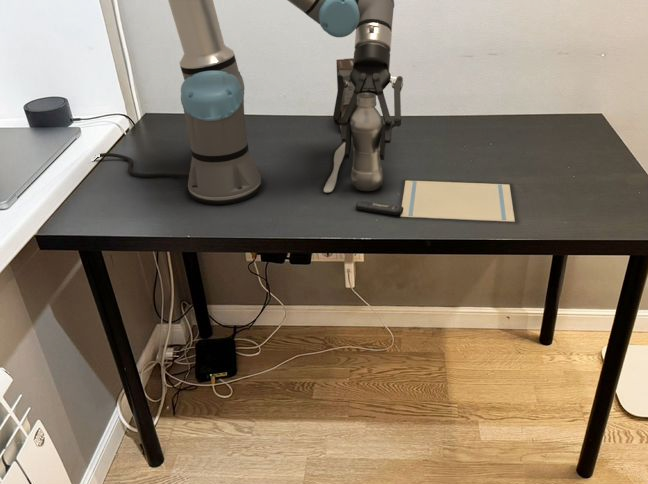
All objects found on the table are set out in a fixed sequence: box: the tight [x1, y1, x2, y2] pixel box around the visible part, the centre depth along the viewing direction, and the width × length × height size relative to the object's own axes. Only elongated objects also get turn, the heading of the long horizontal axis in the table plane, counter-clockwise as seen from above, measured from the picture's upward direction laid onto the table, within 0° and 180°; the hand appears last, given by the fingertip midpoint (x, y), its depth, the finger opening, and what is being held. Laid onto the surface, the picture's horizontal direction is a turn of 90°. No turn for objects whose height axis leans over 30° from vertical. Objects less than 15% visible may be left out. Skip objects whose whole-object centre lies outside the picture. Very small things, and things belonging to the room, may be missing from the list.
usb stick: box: [355, 199, 403, 216], centre depth 128 cm, size 10×3×2 cm, turn 69°
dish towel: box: [399, 180, 516, 223], centre depth 132 cm, size 22×16×1 cm
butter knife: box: [323, 142, 345, 194], centre depth 146 cm, size 1×27×3 cm
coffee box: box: [335, 57, 358, 130], centre depth 163 cm, size 9×6×16 cm
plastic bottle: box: [350, 93, 384, 192], centre depth 132 cm, size 6×7×20 cm
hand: (364, 156), depth 130 cm, fingers closed on plastic bottle, 6 cm apart
